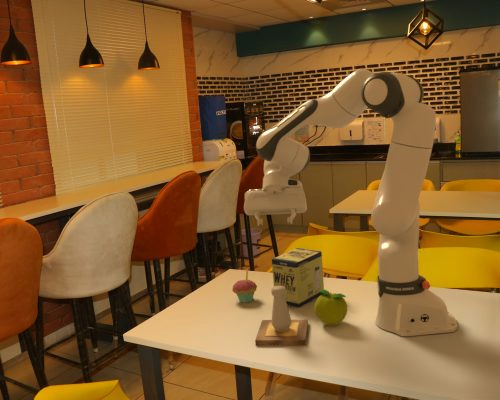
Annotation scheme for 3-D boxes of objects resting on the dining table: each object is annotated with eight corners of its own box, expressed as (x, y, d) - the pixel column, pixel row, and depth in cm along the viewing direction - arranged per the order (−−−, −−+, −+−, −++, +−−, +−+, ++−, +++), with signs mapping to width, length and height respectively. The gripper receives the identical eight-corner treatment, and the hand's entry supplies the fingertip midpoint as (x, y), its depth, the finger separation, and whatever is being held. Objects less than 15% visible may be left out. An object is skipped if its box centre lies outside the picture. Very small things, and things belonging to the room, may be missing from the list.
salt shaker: (281, 323, 153) (278, 282, 151) (296, 328, 149) (292, 285, 147) (268, 330, 149) (264, 287, 147) (282, 335, 145) (279, 291, 143)
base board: (308, 324, 155) (307, 318, 155) (305, 345, 142) (305, 339, 141) (262, 324, 158) (262, 319, 158) (255, 345, 144) (255, 339, 144)
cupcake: (262, 297, 181) (259, 264, 179) (249, 306, 174) (246, 272, 172) (242, 294, 186) (239, 262, 184) (228, 302, 179) (225, 269, 177)
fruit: (328, 315, 161) (326, 284, 159) (353, 322, 154) (351, 290, 152) (309, 325, 154) (307, 293, 153) (335, 333, 148) (333, 300, 146)
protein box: (274, 302, 175) (270, 258, 172) (300, 288, 187) (297, 247, 184) (299, 308, 168) (295, 262, 166) (325, 293, 180) (322, 250, 177)
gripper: (243, 184, 168) (240, 220, 160) (305, 180, 165) (306, 217, 157) (246, 195, 173) (244, 230, 165) (307, 192, 170) (307, 227, 162)
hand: (274, 224), depth 161 cm, fingers open, 8 cm apart
